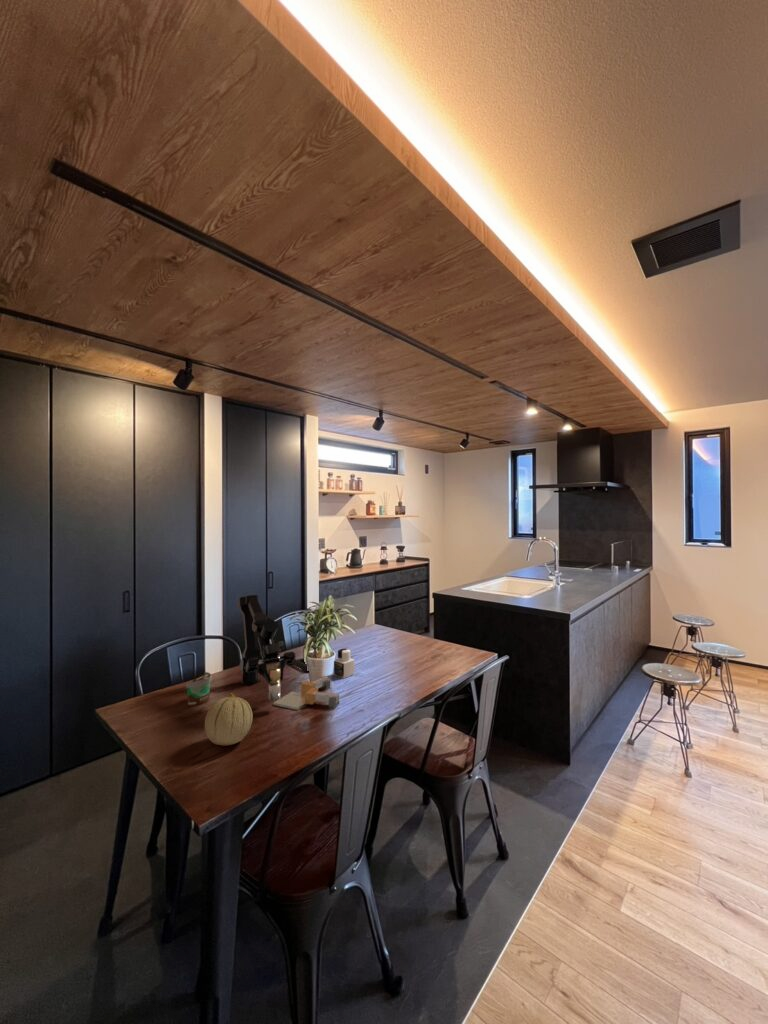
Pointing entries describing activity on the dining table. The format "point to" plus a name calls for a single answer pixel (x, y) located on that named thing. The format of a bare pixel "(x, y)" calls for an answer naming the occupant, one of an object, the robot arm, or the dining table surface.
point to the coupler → (275, 683)
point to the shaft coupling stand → (309, 695)
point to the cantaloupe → (228, 720)
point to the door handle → (300, 664)
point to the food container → (199, 690)
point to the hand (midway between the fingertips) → (275, 681)
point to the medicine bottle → (344, 664)
